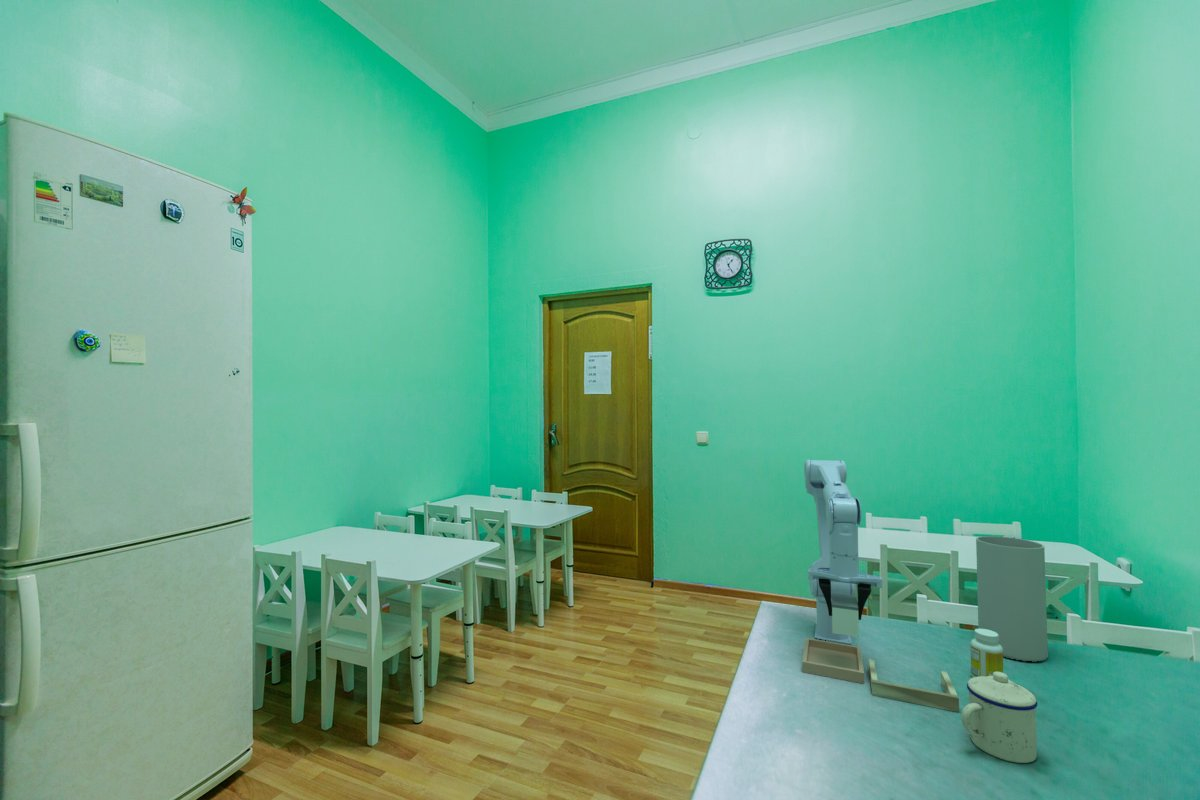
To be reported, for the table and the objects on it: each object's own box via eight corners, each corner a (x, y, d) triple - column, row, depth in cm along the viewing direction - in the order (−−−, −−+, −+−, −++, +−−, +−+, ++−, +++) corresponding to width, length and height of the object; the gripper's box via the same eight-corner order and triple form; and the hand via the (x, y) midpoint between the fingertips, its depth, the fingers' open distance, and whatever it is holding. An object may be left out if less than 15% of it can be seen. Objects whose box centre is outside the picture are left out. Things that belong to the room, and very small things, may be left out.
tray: (805, 646, 121) (805, 637, 121) (860, 656, 116) (860, 646, 116) (802, 672, 109) (802, 661, 109) (864, 683, 104) (864, 673, 104)
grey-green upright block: (832, 619, 117) (831, 593, 117) (856, 623, 115) (856, 596, 115) (832, 633, 109) (832, 604, 110) (858, 637, 107) (858, 607, 108)
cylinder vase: (1051, 668, 111) (1047, 551, 112) (979, 653, 118) (976, 543, 119) (1044, 648, 121) (1040, 540, 122) (978, 635, 128) (975, 534, 129)
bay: (868, 670, 110) (868, 658, 110) (946, 684, 104) (946, 671, 104) (872, 695, 100) (872, 681, 100) (959, 712, 94) (958, 698, 94)
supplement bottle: (967, 678, 106) (966, 631, 107) (975, 670, 110) (974, 624, 110) (999, 689, 102) (998, 639, 103) (1007, 680, 106) (1005, 633, 106)
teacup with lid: (998, 727, 89) (996, 658, 90) (1054, 761, 80) (1052, 684, 81) (940, 735, 87) (938, 665, 87) (991, 771, 78) (989, 692, 78)
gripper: (807, 553, 112) (808, 617, 112) (883, 561, 106) (884, 628, 106) (808, 546, 119) (809, 606, 118) (879, 553, 113) (881, 616, 112)
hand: (844, 616), depth 112 cm, fingers closed on grey-green upright block, 5 cm apart
